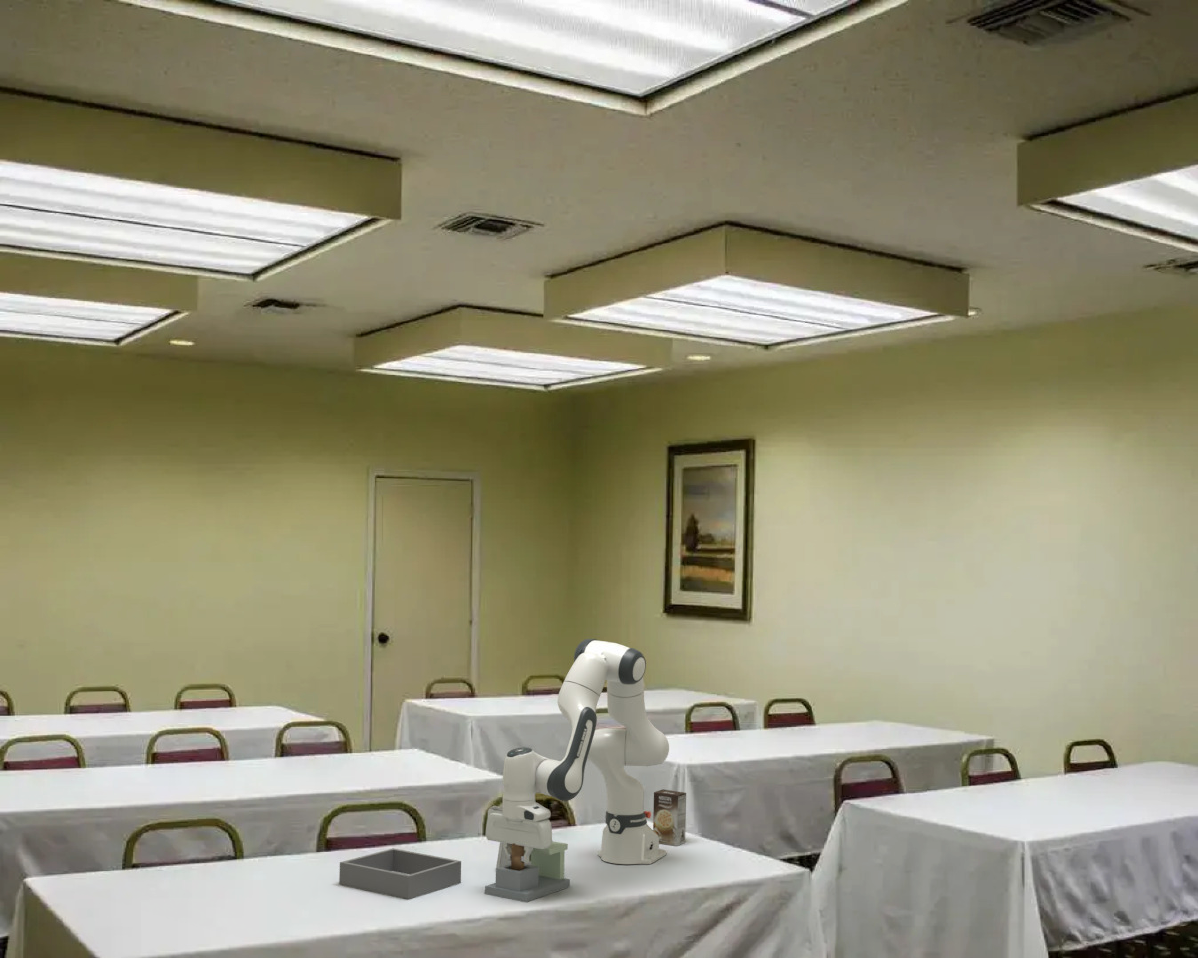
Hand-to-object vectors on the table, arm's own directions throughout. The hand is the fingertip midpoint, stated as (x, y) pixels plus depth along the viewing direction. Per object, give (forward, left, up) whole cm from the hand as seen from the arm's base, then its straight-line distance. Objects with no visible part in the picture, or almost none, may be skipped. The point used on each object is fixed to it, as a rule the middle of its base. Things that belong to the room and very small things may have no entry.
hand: (517, 861), depth 347 cm
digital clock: (-19, -12, -9) cm, 25 cm away
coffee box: (-79, +1, -9) cm, 80 cm away
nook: (-5, 0, -9) cm, 10 cm away
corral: (+11, -32, -9) cm, 35 cm away
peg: (0, 0, -5) cm, 5 cm away
